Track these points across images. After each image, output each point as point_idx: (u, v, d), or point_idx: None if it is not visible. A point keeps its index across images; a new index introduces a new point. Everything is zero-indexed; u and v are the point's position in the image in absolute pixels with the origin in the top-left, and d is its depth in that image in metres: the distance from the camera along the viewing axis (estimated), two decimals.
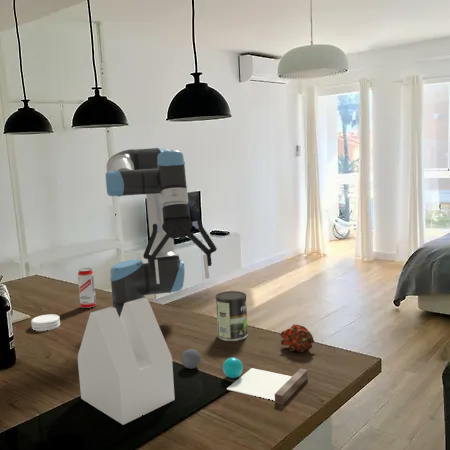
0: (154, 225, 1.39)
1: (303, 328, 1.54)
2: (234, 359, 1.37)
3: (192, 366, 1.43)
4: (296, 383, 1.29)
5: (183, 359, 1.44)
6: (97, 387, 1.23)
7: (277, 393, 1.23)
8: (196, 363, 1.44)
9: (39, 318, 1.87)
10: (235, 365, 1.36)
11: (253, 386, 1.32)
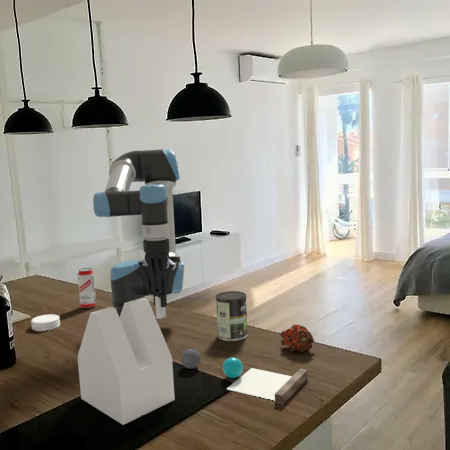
0: (139, 263, 1.49)
1: (303, 328, 1.54)
2: (234, 359, 1.37)
3: (192, 366, 1.43)
4: (296, 383, 1.29)
5: (183, 359, 1.44)
6: (97, 387, 1.23)
7: (277, 393, 1.23)
8: (196, 363, 1.44)
9: (39, 318, 1.87)
10: (235, 365, 1.36)
11: (253, 386, 1.32)
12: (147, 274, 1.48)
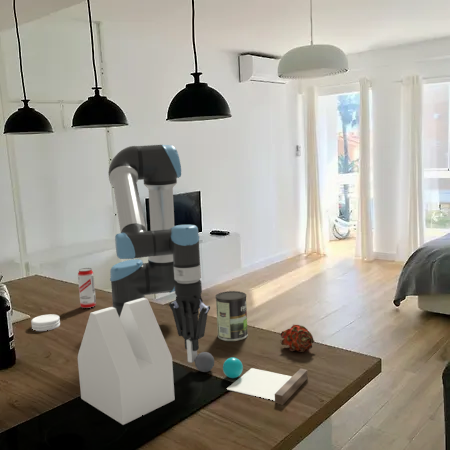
0: (170, 305, 1.44)
1: (303, 328, 1.54)
2: (234, 359, 1.37)
3: (197, 368, 1.43)
4: (296, 383, 1.29)
5: (200, 363, 1.40)
6: (97, 387, 1.23)
7: (277, 393, 1.23)
8: None
9: (39, 318, 1.87)
10: (235, 365, 1.36)
11: (253, 386, 1.32)
12: (178, 316, 1.44)
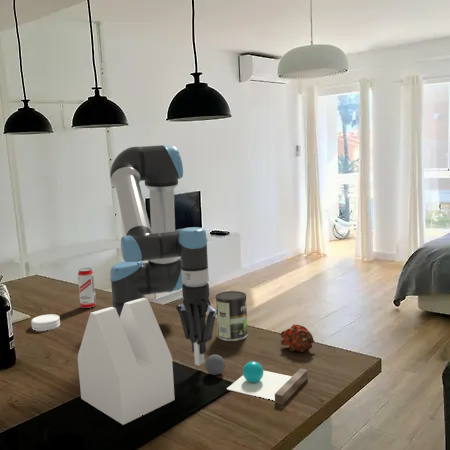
0: (177, 308, 1.44)
1: (303, 328, 1.54)
2: None
3: (205, 362, 1.40)
4: (296, 383, 1.29)
5: (212, 370, 1.38)
6: (97, 387, 1.23)
7: (277, 393, 1.23)
8: None
9: (39, 318, 1.87)
10: (251, 382, 1.34)
11: (253, 386, 1.32)
12: (185, 319, 1.44)
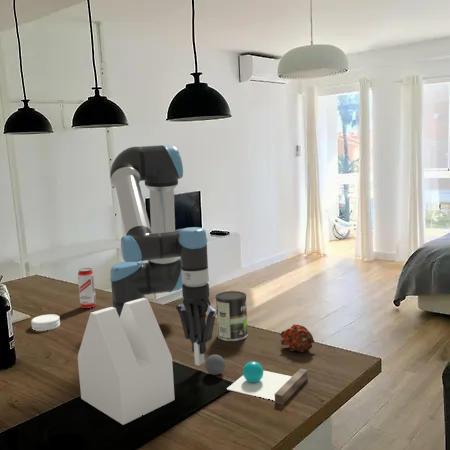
0: (177, 308, 1.44)
1: (303, 328, 1.54)
2: None
3: (205, 362, 1.40)
4: (296, 383, 1.29)
5: (212, 370, 1.38)
6: (97, 387, 1.23)
7: (277, 393, 1.23)
8: None
9: (39, 318, 1.87)
10: (251, 382, 1.34)
11: (253, 386, 1.32)
12: (185, 319, 1.44)
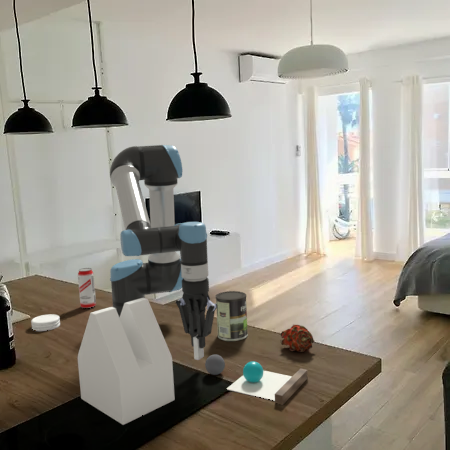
0: (176, 302, 1.44)
1: (303, 328, 1.54)
2: None
3: (205, 362, 1.40)
4: (296, 383, 1.29)
5: (212, 370, 1.38)
6: (97, 387, 1.23)
7: (277, 393, 1.23)
8: None
9: (39, 318, 1.87)
10: (251, 382, 1.34)
11: (253, 386, 1.32)
12: (185, 313, 1.44)
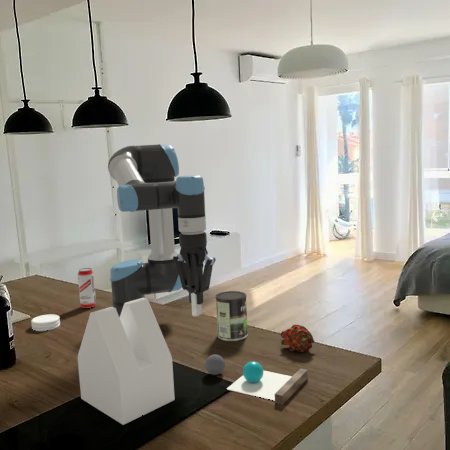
0: (174, 258, 1.42)
1: (303, 328, 1.54)
2: None
3: (205, 362, 1.40)
4: (296, 383, 1.29)
5: (212, 370, 1.38)
6: (97, 387, 1.23)
7: (277, 393, 1.23)
8: None
9: (39, 318, 1.87)
10: (251, 382, 1.34)
11: (253, 386, 1.32)
12: (182, 269, 1.42)
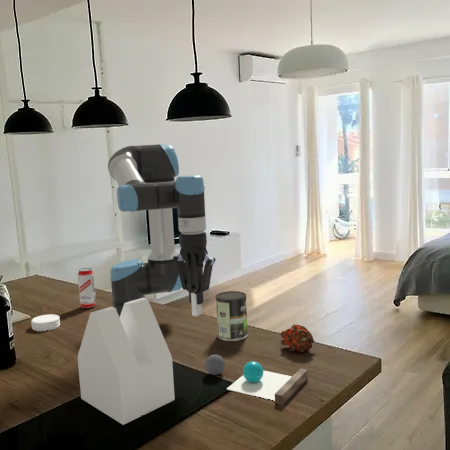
0: (174, 258, 1.42)
1: (303, 328, 1.54)
2: None
3: (205, 362, 1.40)
4: (296, 383, 1.29)
5: (212, 370, 1.38)
6: (97, 387, 1.23)
7: (277, 393, 1.23)
8: None
9: (39, 318, 1.87)
10: (251, 382, 1.34)
11: (253, 386, 1.32)
12: (182, 269, 1.42)
